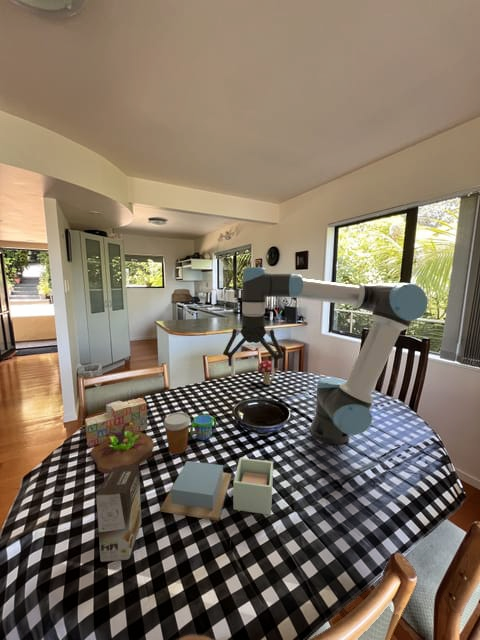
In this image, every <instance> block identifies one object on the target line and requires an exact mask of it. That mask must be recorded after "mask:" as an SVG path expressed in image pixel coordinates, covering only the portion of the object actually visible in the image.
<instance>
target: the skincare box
mask: <svg viewBox="0 0 480 640" xmlns="http://www.w3.org/2000/svg"><path fill="white" fill-rule="evenodd" d="M121 402H123V401H121V400H117V401H113V402H110V403H108V404H107V403H106V405H105V406H106V407H105V408H106V414H107V413H110V412H111V405H113V404H118V403H121Z"/></svg>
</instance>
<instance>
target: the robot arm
mask: <svg viewBox="0 0 480 640" xmlns="http://www.w3.org/2000/svg"><path fill="white" fill-rule="evenodd" d="M241 283H242V284H241V285H242V287H241V288H242V295H241V296H242V298H241V299H242V301H241V302H242V304H241V306H242V307H241V309H242V310H241V311H242V316H241V317H242V318H241V319H242V320H241V329H238V328H237V327H234V328H233V329H232V333H231V337H230V339H229V341H228V343H227V344H226V347H225V349H224V351H223V353H222V355H223V356H225V357H227V358H228V361H227V362H228V367H231V371H230V372H231V373H230V374H231V377H235V375H236V356H235V354H236V352H238V350H239V349H240V348H241V347H242V346H243V344H244V343H245V342H246V343H249V344H251V343H252V344H253V343H254V344H258V343H260V344H261V345H262V347H264V348H265V350H266V351H267V352H268V353H269V355H270V356H271V362H272V372H271V374H270V375H271V376H270V380H274V379H275V371H274V369H276V370H277V369H278V365H279V364H278V361H279V360H280V359H283V358H284V353H283V351H282V348H281V346H280V345H279V342H278V340H277V338H276V336H275V329H273V328H272V329H271V328H270V329H268V330H267V329H266V326H265V325H266V324H265V323H266V316H265V314H266V297H267V298H295V299H302V300H310V301H319V302H326V303H334V304H341V305H348V306H352V307H353V309H358V310H363V311H367V312H371V317H372V321H373V323H372V325H371V327H370V330H369V331H368V334H367V336H366V338H365V340H364V343H363V344H362V347H361V349H360V352H359V353H358V355H357V358H356V359H355V362H354V364H353V367H352V369H351V371H350V372H349V375H348V377H347V378H346V379H347V380H343V379H339V378H333V377H331V378H328V377H327V378H321V379H318V381H317V384H316V400H315V401H316V402H315V415H314V417H313V419H312V422H311V424H310V433H311V435H312V436H313V438H315V439H317V440H319V442H322V443H326V444H329V445H341V444H346V443H347V442H348V441H350V436H357V435H359V434H363V433H365V432H366V431H367V430H368V429H369V428H370V427H371V426H372V422H373V416H372V413H371V411H370V409H371V407H372V405H373V398H372V396H371V395H372V392H373V391H374V388H375V386H376V385H377V382H378V381H379V378H380V376H381V374H382V372H383V370H384V367H385V365H386V363H387V362H388V359H389V358H390V355H391V353H392V351H393V349H394V346H395V344H396V342H397V341H398V338H399V336H400V334H401V332H402V331H404V330H407V329H409V327H410V325H411V322H413V321H416V320H417V319H419V318H421V317H422V316H423V315H424V314H425V313H426V312H427V308H428V303H429V302H428V297H427V295H426V292H425V291H424V289H423V288H422V287H421V286H419V285H417V284H415V283H410V282H409V283H408V282H391V283H388V282H386V283H385V282H382V283H357V284H356V285H355V284H348V283H347V284H346V283H340V282H331V281H323V280H316V279H310V278H309V279H307V278H303V276H302V275H301V274H300V273H299V274H298V273H296V274H295V273H267V270H266V267H262V266H261V267H259V266H248V267H245V268H244V269H243V270H242V282H241ZM240 334H241V336H242V337H243V338H242V339H241V340H240V341H239V342H238V343H237V345H236V346H234V348H233V349H232V350H231V351H230V349H231V347H232V345H233V343H234V342H235V340H236V338H237V336H239V335H240ZM266 335H267V336H268V337H270V339H271V341H272V344H273V346H274V348H275V350H276V351H275V350H274V349H273V348H272V346H271V345H270V344H269V343H268V342H267V340H266V339H265V336H266Z"/></svg>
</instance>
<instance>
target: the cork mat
mask: <svg viewBox="0 0 480 640" xmlns="http://www.w3.org/2000/svg"><path fill="white" fill-rule="evenodd" d="M181 471H182V469H181ZM181 471H180V472H181ZM231 478H232V473H229V472H223V479H222V483H221V486H220V489H219V492H218V495H217V498H216V502H215V505H214V508H213V509H206V508H200V507H193V506H186V505H180V504H173V503H172V499H171V489H172V487H171V489H170V491H169V493H168V494H167V495H166V498H165V500H164V501H163V503H162V504H161V506H160V509H159V510H160V512H163V513H169V514H173V515H181V516H188V517H193V518H198V519H205V520H206V519H207V520H212V521H220V519H221V514H222V511H223V507H224V503H225V500H226V496H227V492H228V489H229V485H230V482H231ZM176 480H177V478H176V479H175V481H174V483H175V482H176Z"/></svg>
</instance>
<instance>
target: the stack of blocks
mask: <svg viewBox="0 0 480 640" xmlns="http://www.w3.org/2000/svg"><path fill="white" fill-rule="evenodd" d="M147 408H148V407H147V402H146V401H145V399H144V398H143V397H141V398H140V397H139V398H135V399H134V398H133V399H129V400H126V401H122V402H121V403H118V404H113V405H111V412H110V413H107V412H106V413H103V414H99V415H95V416H91V417H88V418H85V419H84V420H85V434H86V441H87V442H86V443H87V445H88V448H90V447H94V446H97V445H100V444H101V443H102V441H105V440H109V439H110V437H112V436H114V437H117V436H116V435H115V434H109V435H108V438H107V439H104V436H105V435H106V434H108V433H110V432H116V433H118V434H121V433H122V428H123V426H124V425H125V423H127V422H131V423H132V426H128V425H126V426H125V430H124V433H125V432H126V431H127V430H128V431H129V432H138V431H140V432H142V431H145V430H148V409H147Z"/></svg>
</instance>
